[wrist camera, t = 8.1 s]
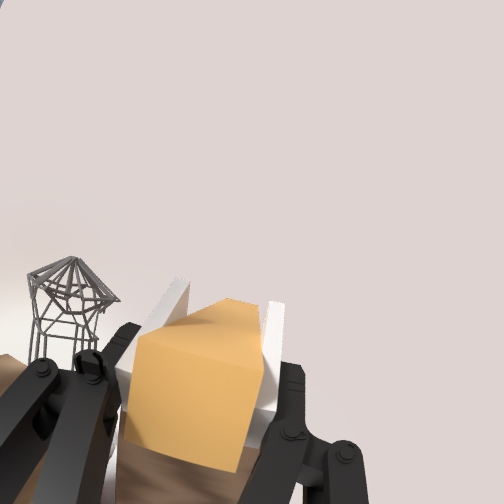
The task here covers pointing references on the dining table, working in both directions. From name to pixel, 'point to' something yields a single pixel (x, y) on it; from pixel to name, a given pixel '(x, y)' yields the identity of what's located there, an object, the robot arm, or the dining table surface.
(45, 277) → the geometric lantern
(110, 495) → the dining table surface
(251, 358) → the orange bar
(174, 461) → the brown wood block
